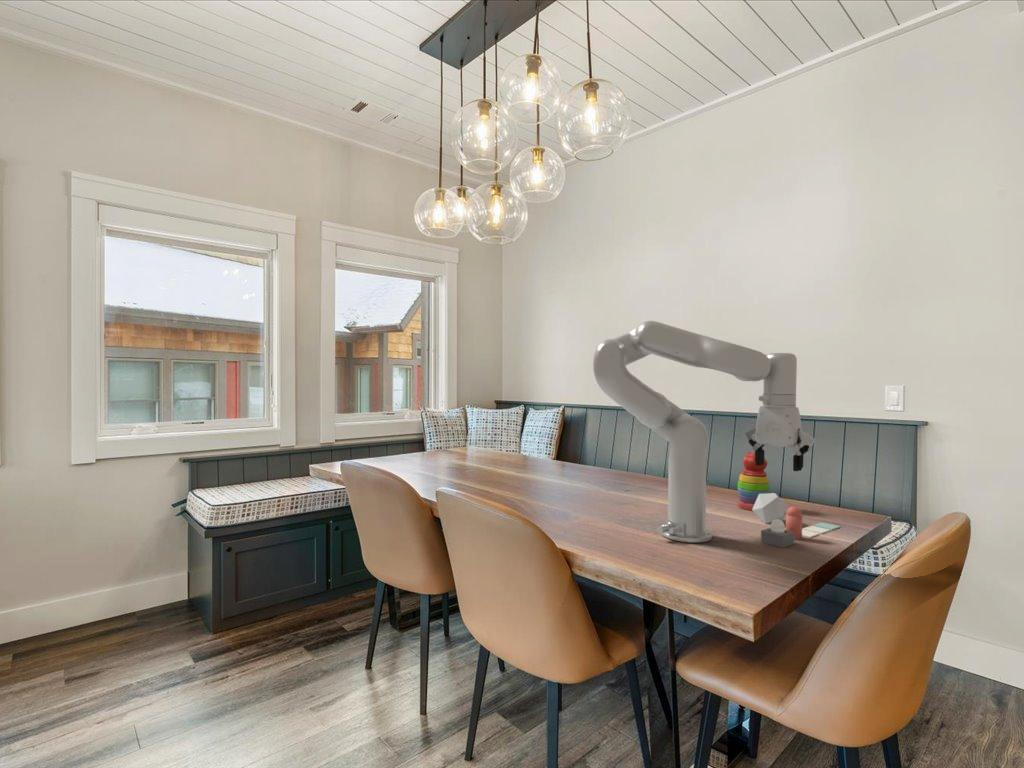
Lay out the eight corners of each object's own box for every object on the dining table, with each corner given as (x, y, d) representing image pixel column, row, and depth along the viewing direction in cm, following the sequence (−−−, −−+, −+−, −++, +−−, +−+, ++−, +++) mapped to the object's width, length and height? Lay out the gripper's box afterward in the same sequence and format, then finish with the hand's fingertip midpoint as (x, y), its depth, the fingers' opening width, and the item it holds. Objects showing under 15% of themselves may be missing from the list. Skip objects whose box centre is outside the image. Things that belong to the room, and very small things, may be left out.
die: (788, 530, 153) (798, 498, 157) (760, 514, 153) (770, 483, 157) (769, 532, 161) (779, 502, 165) (743, 517, 161) (753, 487, 165)
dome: (780, 537, 136) (780, 521, 136) (768, 533, 139) (768, 519, 139) (787, 534, 138) (787, 519, 138) (774, 531, 141) (775, 517, 141)
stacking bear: (778, 511, 170) (779, 454, 170) (747, 512, 170) (747, 455, 170) (761, 503, 181) (761, 450, 181) (731, 503, 181) (731, 450, 180)
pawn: (797, 540, 141) (797, 509, 141) (782, 537, 144) (783, 506, 144) (804, 538, 143) (805, 507, 143) (790, 534, 146) (790, 504, 146)
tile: (831, 530, 150) (831, 529, 150) (813, 526, 154) (813, 525, 154) (840, 527, 153) (840, 526, 153) (821, 523, 157) (821, 522, 157)
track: (810, 537, 143) (810, 536, 143) (791, 533, 147) (791, 532, 147) (830, 530, 150) (830, 529, 150) (811, 526, 154) (811, 525, 154)
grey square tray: (782, 547, 135) (782, 535, 135) (760, 542, 139) (761, 530, 139) (794, 543, 138) (794, 532, 138) (772, 538, 143) (772, 526, 143)
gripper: (739, 400, 144) (738, 464, 145) (807, 403, 131) (806, 474, 131) (754, 399, 149) (753, 462, 149) (821, 402, 135) (820, 471, 136)
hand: (778, 467), depth 140 cm, fingers open, 9 cm apart
